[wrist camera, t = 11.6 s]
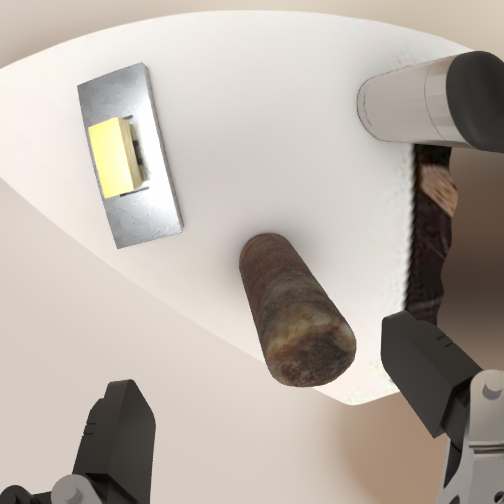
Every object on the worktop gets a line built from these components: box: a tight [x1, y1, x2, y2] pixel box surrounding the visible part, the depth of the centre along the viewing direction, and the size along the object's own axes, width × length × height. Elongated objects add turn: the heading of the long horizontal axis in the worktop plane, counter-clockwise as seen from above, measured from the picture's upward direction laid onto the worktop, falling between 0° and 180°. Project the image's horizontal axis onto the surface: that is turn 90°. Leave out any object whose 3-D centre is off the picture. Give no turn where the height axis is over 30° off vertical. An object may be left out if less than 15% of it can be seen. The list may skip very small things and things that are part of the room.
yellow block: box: [88, 117, 146, 198], centre depth 29 cm, size 3×7×8 cm, turn 11°
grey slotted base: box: [77, 62, 184, 249], centre depth 32 cm, size 8×20×3 cm, turn 12°
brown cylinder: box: [239, 234, 356, 387], centre depth 31 cm, size 8×7×20 cm
